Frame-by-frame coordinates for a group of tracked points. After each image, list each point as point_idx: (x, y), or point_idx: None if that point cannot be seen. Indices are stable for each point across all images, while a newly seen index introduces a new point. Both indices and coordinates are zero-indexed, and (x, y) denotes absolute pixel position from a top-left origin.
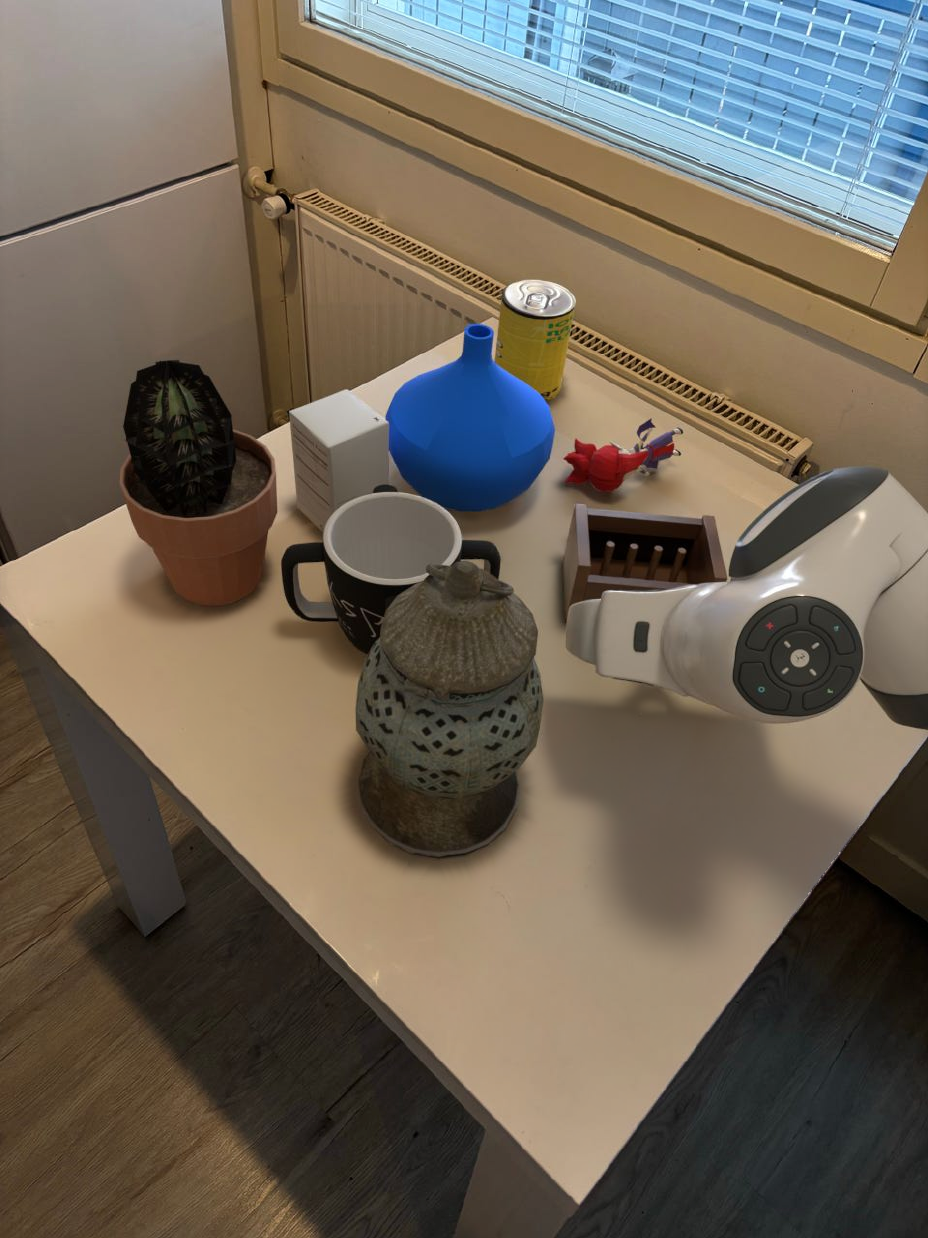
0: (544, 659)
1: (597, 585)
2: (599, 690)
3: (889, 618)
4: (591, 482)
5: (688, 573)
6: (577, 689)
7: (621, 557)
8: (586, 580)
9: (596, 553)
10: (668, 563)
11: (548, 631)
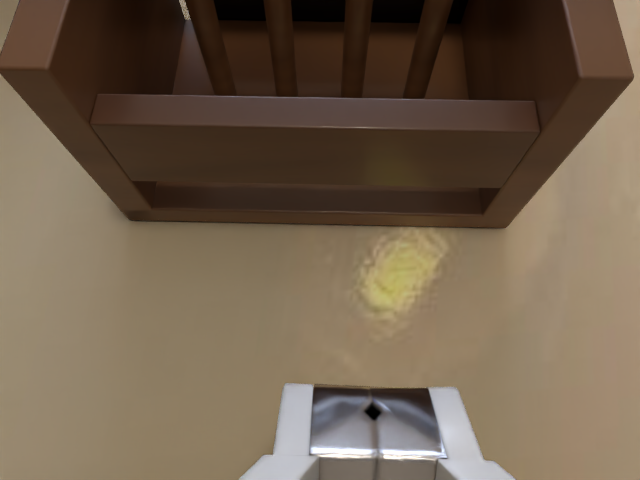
0: (42, 351)
1: (134, 132)
2: (181, 461)
3: None
4: None
5: (468, 45)
6: (114, 463)
7: (298, 14)
8: (82, 120)
9: (233, 8)
10: (418, 20)
11: (79, 250)
